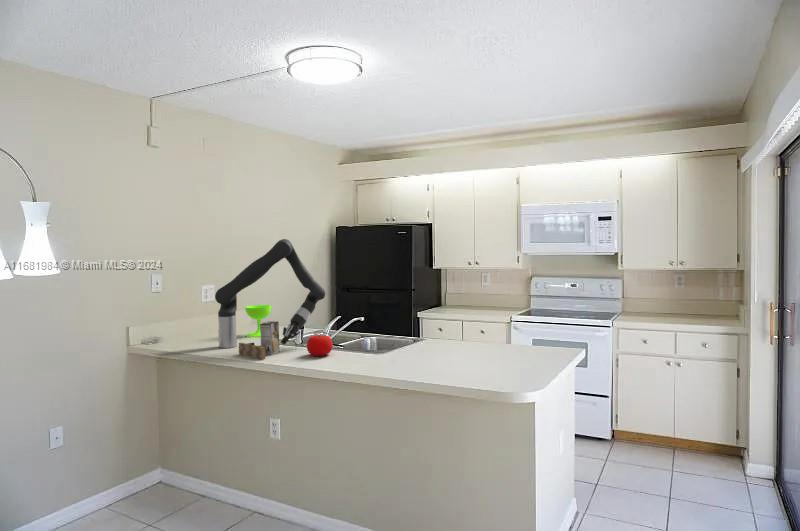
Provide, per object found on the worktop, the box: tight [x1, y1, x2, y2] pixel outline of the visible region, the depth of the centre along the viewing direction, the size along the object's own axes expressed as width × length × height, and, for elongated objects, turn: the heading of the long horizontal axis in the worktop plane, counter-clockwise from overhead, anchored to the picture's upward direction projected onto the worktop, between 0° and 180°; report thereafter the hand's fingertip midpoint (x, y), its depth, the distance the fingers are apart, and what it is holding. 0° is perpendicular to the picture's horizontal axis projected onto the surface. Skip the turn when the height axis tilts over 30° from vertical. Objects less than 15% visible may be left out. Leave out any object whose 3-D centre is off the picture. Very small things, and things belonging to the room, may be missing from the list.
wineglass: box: [244, 304, 272, 338], centre depth 353 cm, size 16×16×18 cm
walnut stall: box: [238, 342, 267, 360], centre depth 287 cm, size 22×5×6 cm, turn 47°
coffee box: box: [260, 320, 281, 356], centre depth 293 cm, size 9×6×16 cm
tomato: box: [306, 334, 334, 357], centre depth 285 cm, size 14×13×10 cm
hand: (282, 343), depth 299 cm, fingers closed
